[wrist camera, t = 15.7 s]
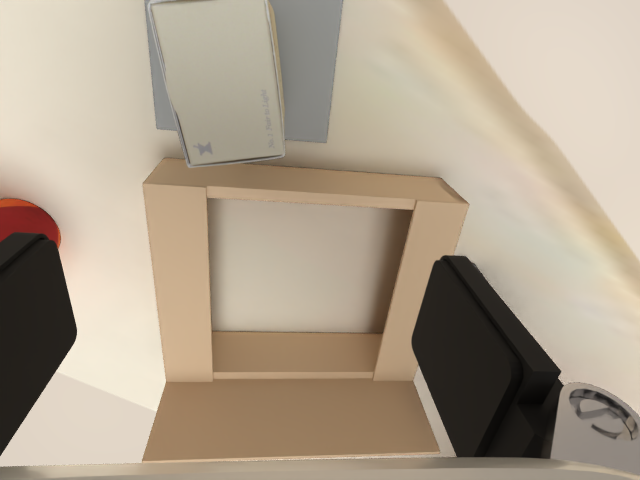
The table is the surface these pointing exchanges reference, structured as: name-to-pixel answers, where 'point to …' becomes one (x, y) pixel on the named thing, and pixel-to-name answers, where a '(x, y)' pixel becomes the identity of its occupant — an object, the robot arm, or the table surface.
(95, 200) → the table surface
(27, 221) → the paper cup
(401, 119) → the table surface
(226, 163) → the skincare box
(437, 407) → the robot arm
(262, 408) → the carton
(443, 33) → the table surface
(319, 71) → the mat
